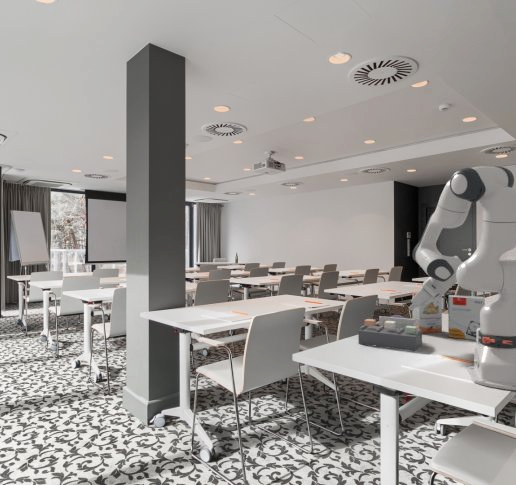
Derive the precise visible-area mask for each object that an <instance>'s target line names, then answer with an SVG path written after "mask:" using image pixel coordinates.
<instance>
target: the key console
mask: <svg viewBox="0 0 516 485" xmlns="http://www.w3.org/2000/svg"><path fill="white" fill-rule="evenodd" d="M378 321H379V322H378V325H375V326H373V327H371V326H364V325H362V326H361V327H360V328H359V329H358V344H359V345H364V344H367V346H371V345H376V346H375V347H379V346H382V347H381V348H387V347H389V348H388V349H394V348H395V350H402V351H409V352H410V351H411V352H417V351H418V350H419V349H420V347H422V345H423V333H422V331H421V329H419V330H418V331H417V332H416V333H415V334H409V333H405V327H406V326H414V319H413V318H405V317H404V318H394V317H391V316H380V315H379V317H378ZM385 321H395V322H396V327H395V328H394V329H390V328H384V322H385Z"/></svg>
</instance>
